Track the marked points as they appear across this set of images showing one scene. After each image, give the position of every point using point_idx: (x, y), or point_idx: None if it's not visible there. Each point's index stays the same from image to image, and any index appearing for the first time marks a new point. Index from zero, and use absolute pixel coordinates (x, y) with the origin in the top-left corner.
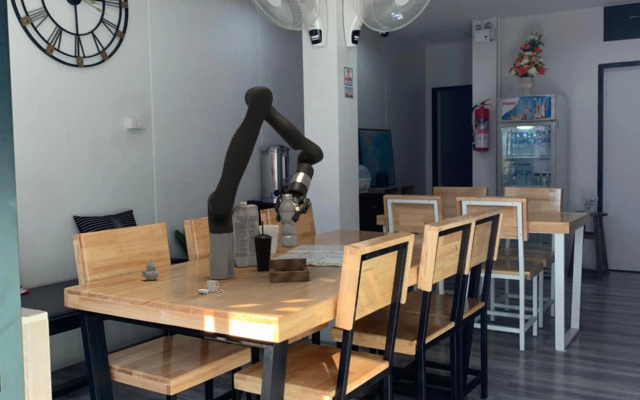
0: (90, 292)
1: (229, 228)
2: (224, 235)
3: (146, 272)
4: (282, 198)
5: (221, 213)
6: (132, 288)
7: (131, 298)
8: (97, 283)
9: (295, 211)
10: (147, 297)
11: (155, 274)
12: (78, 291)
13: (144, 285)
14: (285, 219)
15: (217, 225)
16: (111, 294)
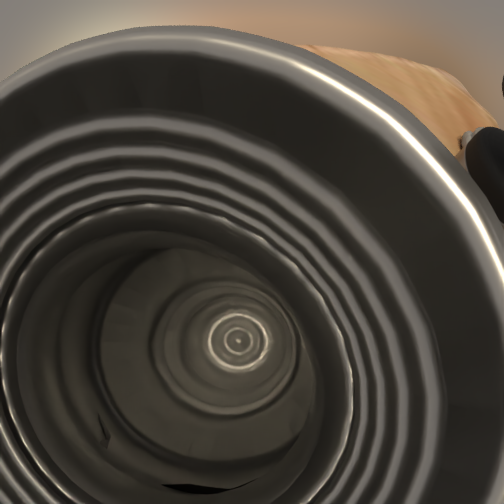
0: (423, 66)
1: (479, 162)
2: (460, 157)
3: (470, 131)
4: (273, 202)
5: (502, 87)
6: (419, 92)
7: (350, 52)
8: (475, 108)
9: (100, 374)
10: (340, 59)
11: (465, 141)
12: (436, 68)
13: (432, 113)
14: (196, 274)
15: (493, 130)
16: (395, 62)
